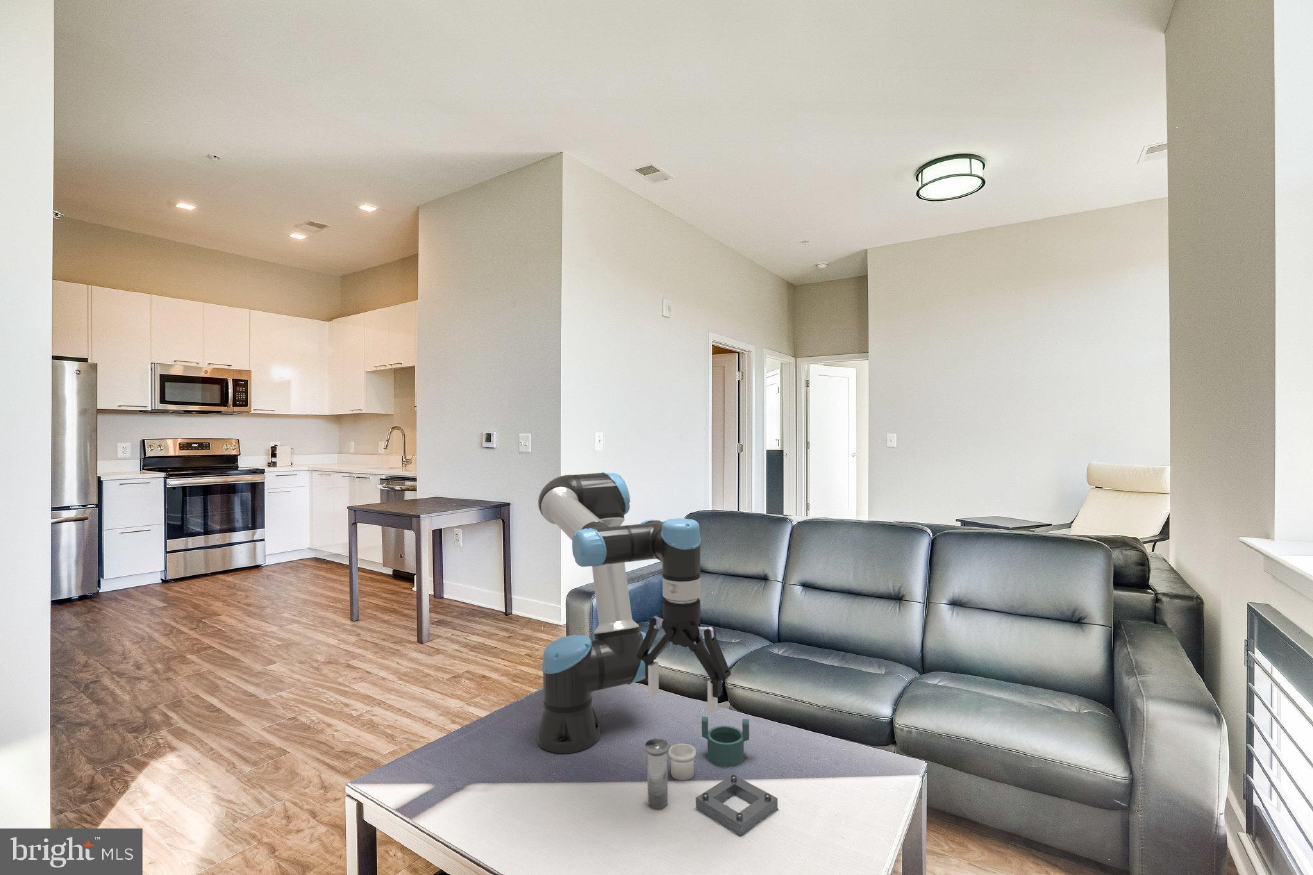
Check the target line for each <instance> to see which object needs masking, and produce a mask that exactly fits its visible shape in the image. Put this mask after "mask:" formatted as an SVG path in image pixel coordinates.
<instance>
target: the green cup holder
mask: <svg viewBox="0 0 1313 875" xmlns="http://www.w3.org/2000/svg"><path fill="white" fill-rule="evenodd" d="M741 720H742V722H741V724H742V728H741V729H742V730H741V729H739V728H737V727H735V726H732V725H731V726H730V725H719V726H713V727H712V728H710V729H709V717H708V716H701V737H702V738H703V739H705V740H707V759H708V761H709V762H710V763H711V764H713V765H715V766H717V767H721V768H733V767H737V766H740V765H741V764H743V762H744V760H745V750H744V748H745V746H744V745H745V742H747V741H750V719H749V718H742V719H741Z"/></svg>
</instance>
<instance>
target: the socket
mask: <svg viewBox="0 0 1313 875" xmlns="http://www.w3.org/2000/svg"><path fill="white" fill-rule="evenodd" d="M734 796H737V797H738V798H741V799H742V800H744V801H746V802H747V803H749V805H748V806H746V807H745V808H744V809H742V810H740V811H736V810H735V809H733V808H732V807H730V806H728V805H727V804H725V803H724V802H725V801H727V800H729V799H730V798H732V797H734ZM778 801H779V800H778V797H776V796H774V795H773V794H771V793H769V792H767V791H765V790H763V789H761V788H760V787H758V786H756V785H755V784H752V783H750V782H748V781H747V780H745V779H743V778H741V777H739V776H737V775H735V774H731V775H730V776H728V777H726V778H725V779H723V780H722V781H720V782H719V783H717V784H715V785H713V786H712V787H711V788H708V789H707V790H706V791H704V792H702V793H701V794H699V795H697V796H695V808H696V810H698V811H700V812H701V813H703V814H704V815H706V816H707V817H709V818H711V819H712V820H714V821H715V822H717V823H719V824H720V825H722V826H723V827H725V828H727V829H728V830H730V831H731V832H733V833H734V834H736V835H738V836H739V837H742V836H743V835H744V834H747V833H748V832H749V831H750V830H752V829H753V828H755V826H757V825H758V824H760V823H761V822H762V821H764V820H765V819H767V817H770V815H772V814H773V813H774V812H776V811H777V810H778V808H779V806H778V805H779V804H778V803H779V802H778Z"/></svg>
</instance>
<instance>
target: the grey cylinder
mask: <svg viewBox="0 0 1313 875" xmlns="http://www.w3.org/2000/svg"><path fill="white" fill-rule="evenodd" d="M669 749H670V747H669V742H668V741H667V740H665V739H663V738H651V739H649V740H648V741H646V743H645V752H646V765H647V768H646V769H647V771H646V772H647V774H646V775H647V776H646V777H647V805H648V807H649V809H651V810H653V811H661V810H665V809H666V808H667V807H668V805H669V793H668V792H669V788H668V784H669V782H668V779H669V778H668V753H669Z"/></svg>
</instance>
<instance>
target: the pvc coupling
mask: <svg viewBox="0 0 1313 875" xmlns="http://www.w3.org/2000/svg"><path fill="white" fill-rule="evenodd" d="M696 754H697V752H696V748H695V747H694V746H692V745H691V744H687V743H677V744H673V745H672V746H671V747H669V750H668V756H669V759H670V774H671V778H673V779H675V780H679V781H688V780H690V779H692V778H693V777H694V775H695V759H696V757H697V755H696Z"/></svg>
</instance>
